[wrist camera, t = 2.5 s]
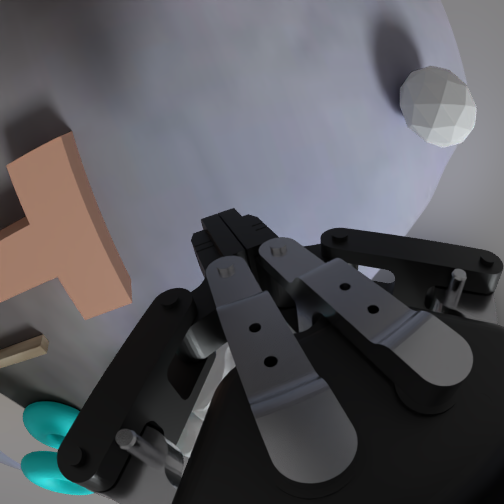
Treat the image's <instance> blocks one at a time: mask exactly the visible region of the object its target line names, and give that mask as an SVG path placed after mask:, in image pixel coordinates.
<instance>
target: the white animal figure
mask: <svg viewBox="0 0 504 504" xmlns="http://www.w3.org/2000/svg"><path fill="white" fill-rule="evenodd" d="M235 366H236V365H235V362H234V360H233V357H232V354H231V351H230V348H229V345H228V342H226V343H225V344H224V345H222V346H221V347H220V348H218V349H217V350H216V358H215V361H214V363H213V365H212V367H211V369H210V372H209V374H208V376H207V378H206V381H205V383H204V385H203V387H202V390H201V392H200V394H199V396H198V398H197V401H196V403H195V405H194V407H193V409H192V411H193V412H191V414H190V416H189V418H188V421H187V423H186V425H185V427H184V429H183V432H182V434H181V436H180V438H179V440H178V442H177V445H176V446H177V447H178V448H179V449H180V451H181V452H182V455H185V456H187V457H190V455H191V452H192V450H193V447H194V444H195V442H196V439H197V436H198V434H199V431H200V429H201V426H202V423H203V421H204V418H205V415H206V413H207V410H208V407H209V405H210V402H211V400H212V397H213V394H214V392H215V390H216V388H217V387H218V385H219V384H220V382H221V381H222V379H223V378H224V377H225V376H226V375H227V374H228V373H229V371H231V370H232V369H233V368H234V367H235Z"/></svg>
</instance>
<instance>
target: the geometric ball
mask: <svg viewBox="0 0 504 504" xmlns="http://www.w3.org/2000/svg"><path fill="white" fill-rule="evenodd" d="M400 108H401V110H402V113H403V116H404V118H405V121H406V124H407V127H408V128H409V129H410V130H412V131H413V132H414V133H415V134H417V135H418V136H419V137H421V138H422V139H423V140H424V141H426V142H428V143H431V144H434V145H437V146H439V147H442V148H444V147H448V146H451V145H455V144H459V143H462V142H463V141H464V140H465V138H466V137H467V136H468V135H469V133H470V132H471V130H472V129H473V128H474V126H475V119H476V108H477V107H476V105H475V102H474V100H473V98H472V95H471V93H470V91H469V89H468V87H467V85H466V84H465V83H464V82H462V81H461V80H460V79H459V78H458V77H457V76H456V75H455V74H453V73H452V72H451V71H450V70H447V69H443V68H438V67H433V66H429V67H426V68H422V69H419V70H416V71H413V72H411V73H410V75H409V76H408V77H407V79H406V80H405V82H404V83H403V85H402V86H401V88H400Z"/></svg>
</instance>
